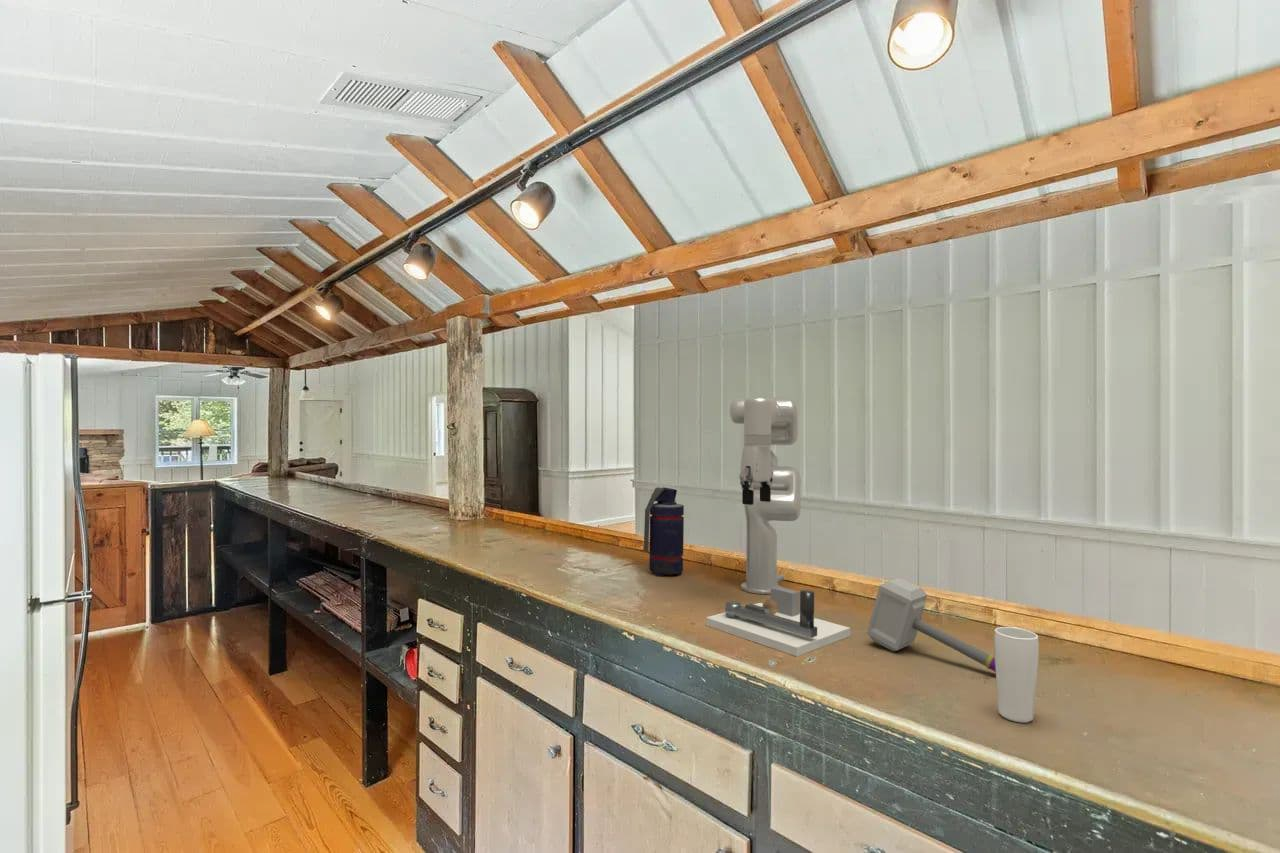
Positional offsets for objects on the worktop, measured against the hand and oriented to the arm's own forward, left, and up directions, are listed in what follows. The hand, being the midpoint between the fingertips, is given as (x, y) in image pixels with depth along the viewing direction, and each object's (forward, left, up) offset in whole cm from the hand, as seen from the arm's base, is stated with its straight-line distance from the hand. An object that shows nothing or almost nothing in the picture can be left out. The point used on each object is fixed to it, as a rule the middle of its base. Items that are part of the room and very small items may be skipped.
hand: (756, 502), depth 172 cm
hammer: (-3, +49, -31) cm, 58 cm away
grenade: (-10, -49, -31) cm, 59 cm away
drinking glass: (+14, +70, -31) cm, 78 cm away
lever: (+13, +15, -28) cm, 34 cm away
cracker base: (+9, +14, -30) cm, 34 cm away
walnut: (+6, +10, -28) cm, 30 cm away
